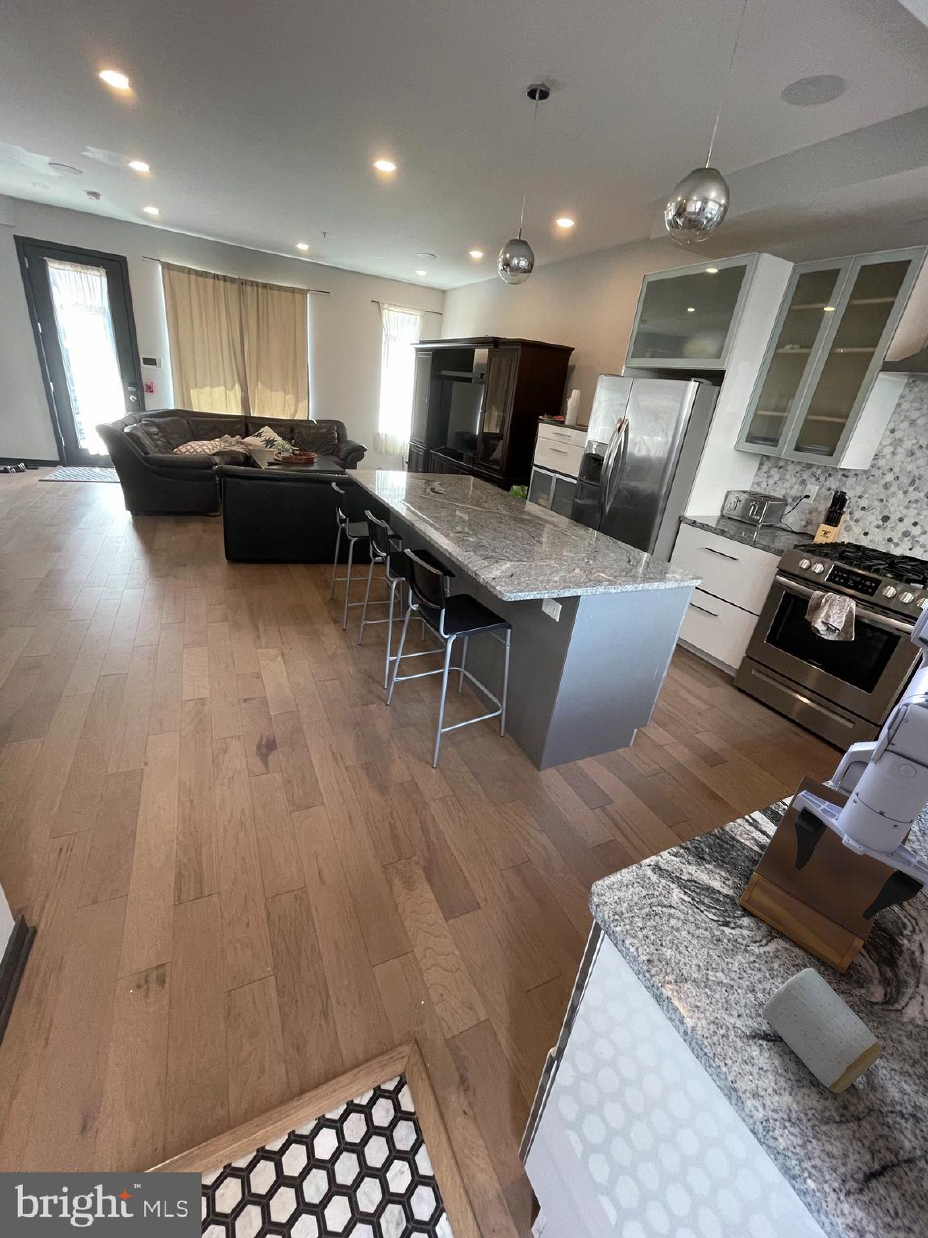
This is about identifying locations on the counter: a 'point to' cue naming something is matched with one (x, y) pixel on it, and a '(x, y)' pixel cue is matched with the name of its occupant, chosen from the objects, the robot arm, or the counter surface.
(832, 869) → the lid
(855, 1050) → the ceramic mug
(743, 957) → the counter surface
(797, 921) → the box
